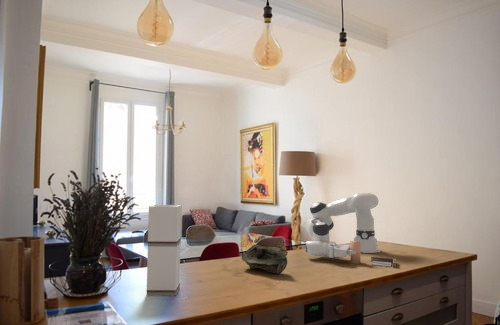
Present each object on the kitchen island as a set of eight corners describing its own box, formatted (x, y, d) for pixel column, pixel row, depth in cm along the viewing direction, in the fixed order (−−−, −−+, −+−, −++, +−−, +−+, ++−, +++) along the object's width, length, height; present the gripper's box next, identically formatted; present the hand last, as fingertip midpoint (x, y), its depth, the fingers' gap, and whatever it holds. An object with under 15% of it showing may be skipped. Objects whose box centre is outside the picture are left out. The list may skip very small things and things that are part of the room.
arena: (371, 260, 218) (371, 256, 218) (396, 262, 213) (396, 258, 213) (369, 265, 206) (369, 260, 206) (395, 267, 201) (395, 263, 201)
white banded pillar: (179, 287, 158) (181, 205, 160) (175, 295, 147) (177, 206, 149) (152, 287, 157) (154, 204, 159) (146, 295, 147) (148, 206, 149)
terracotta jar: (351, 261, 216) (351, 240, 217) (360, 262, 214) (360, 241, 215) (349, 263, 211) (349, 241, 212) (359, 264, 209) (359, 242, 210)
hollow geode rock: (286, 286, 179) (301, 261, 186) (273, 270, 174) (289, 245, 181) (249, 273, 201) (264, 251, 208) (236, 259, 195) (252, 236, 202)
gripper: (335, 252, 227) (358, 253, 222) (329, 258, 208) (355, 260, 203) (335, 241, 228) (358, 243, 222) (329, 246, 209) (354, 248, 203)
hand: (357, 251), depth 213 cm, fingers closed on terracotta jar, 5 cm apart
